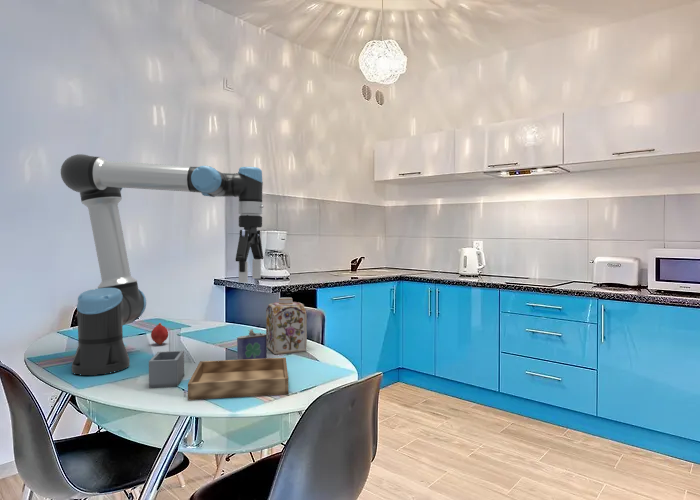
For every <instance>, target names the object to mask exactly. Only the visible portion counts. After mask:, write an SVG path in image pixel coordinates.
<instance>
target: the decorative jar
mask: <svg viewBox="0 0 700 500" xmlns="http://www.w3.org/2000/svg"><path fill="white" fill-rule="evenodd" d="M307 313H308V312H307V309H306V308H305V304H304V303H301V302H299V301H298V302H297V301H293V298H292V297H289V296H288V297H287V296H286V297H279V298H278V301H276V302H271V303H268V306H267V307H266V310H265V323H266V324H265V331H266V332H265V334H266V335H267V338H266V339H267V343H266V344H267V347H266V348H267V349H268V350H269V351H270V352H271V353H272V354H273V355H286V354H294V353H295V354H296V353H304V352H306V351H307V347H308V346H307V345H308V337H307V336H308V333H307V329H308V326H307V322H308V320H307V319H308V318H307V317H308V315H307Z"/></svg>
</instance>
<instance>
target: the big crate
mask: <svg viewBox="0 0 700 500" xmlns="http://www.w3.org/2000/svg"><path fill="white" fill-rule="evenodd" d="M280 395H289V373H288V365H287V357H268V358H264V359H242V360H237V359H222V360H202V361H199V363H198V365H197V366H196V367H195V370H194V372H193V374H192V375H191V377H190V379H189V381H188V383H187V401H195V400H197V401H199V400H213V399H229V398H230V399H232V398H245V397H246V398H247V397H248V398H249V397H264V396H265V397H266V396H280Z"/></svg>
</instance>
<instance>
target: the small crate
mask: <svg viewBox="0 0 700 500" xmlns="http://www.w3.org/2000/svg"><path fill="white" fill-rule="evenodd" d="M184 377H185V351H184V350H172V351H171V350H169V351H168V350H166V351H157V352H156V353H155V354H154V355H152V357H151V359H149V360H148V388H149V389H155V388H156V389H157V388H160V389H161V388H177V387H178V386H179V384H180V383H181V382H182V380H183V378H184Z"/></svg>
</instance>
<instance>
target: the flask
mask: <svg viewBox="0 0 700 500" xmlns="http://www.w3.org/2000/svg"><path fill="white" fill-rule="evenodd" d="M266 338H267V335H266V333H261V332H254V329H253V328H252V329H249V330H248V335H241V336H237V337H236V341H237V343H236V344H237V345H236V347H237V348H236V350H237V351H236V353H237V357H236V360H242V359H264V358H267V352H268V351H267V349H268V348H267V344H266V343H267V339H266Z"/></svg>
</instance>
